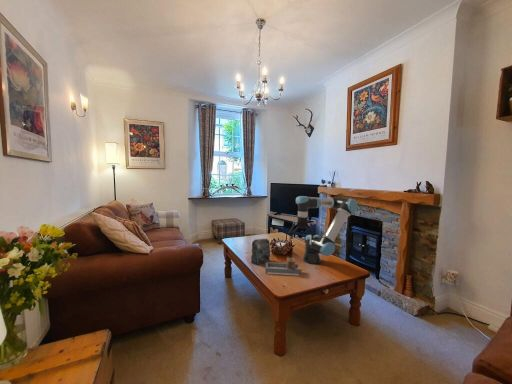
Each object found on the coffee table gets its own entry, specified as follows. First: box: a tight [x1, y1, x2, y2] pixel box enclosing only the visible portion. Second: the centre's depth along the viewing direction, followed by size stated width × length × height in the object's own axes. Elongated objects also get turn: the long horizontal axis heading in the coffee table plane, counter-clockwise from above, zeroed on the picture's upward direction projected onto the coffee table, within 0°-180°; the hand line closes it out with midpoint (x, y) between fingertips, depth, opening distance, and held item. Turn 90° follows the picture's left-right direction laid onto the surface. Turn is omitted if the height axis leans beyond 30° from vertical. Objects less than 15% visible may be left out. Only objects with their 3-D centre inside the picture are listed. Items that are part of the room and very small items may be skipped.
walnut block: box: [286, 257, 296, 269], centre depth 176 cm, size 6×8×8 cm
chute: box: [265, 261, 300, 276], centre depth 176 cm, size 26×12×4 cm, turn 85°
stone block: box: [250, 238, 271, 265], centre depth 193 cm, size 18×9×20 cm, turn 124°
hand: (301, 243), depth 173 cm, fingers open, 13 cm apart
